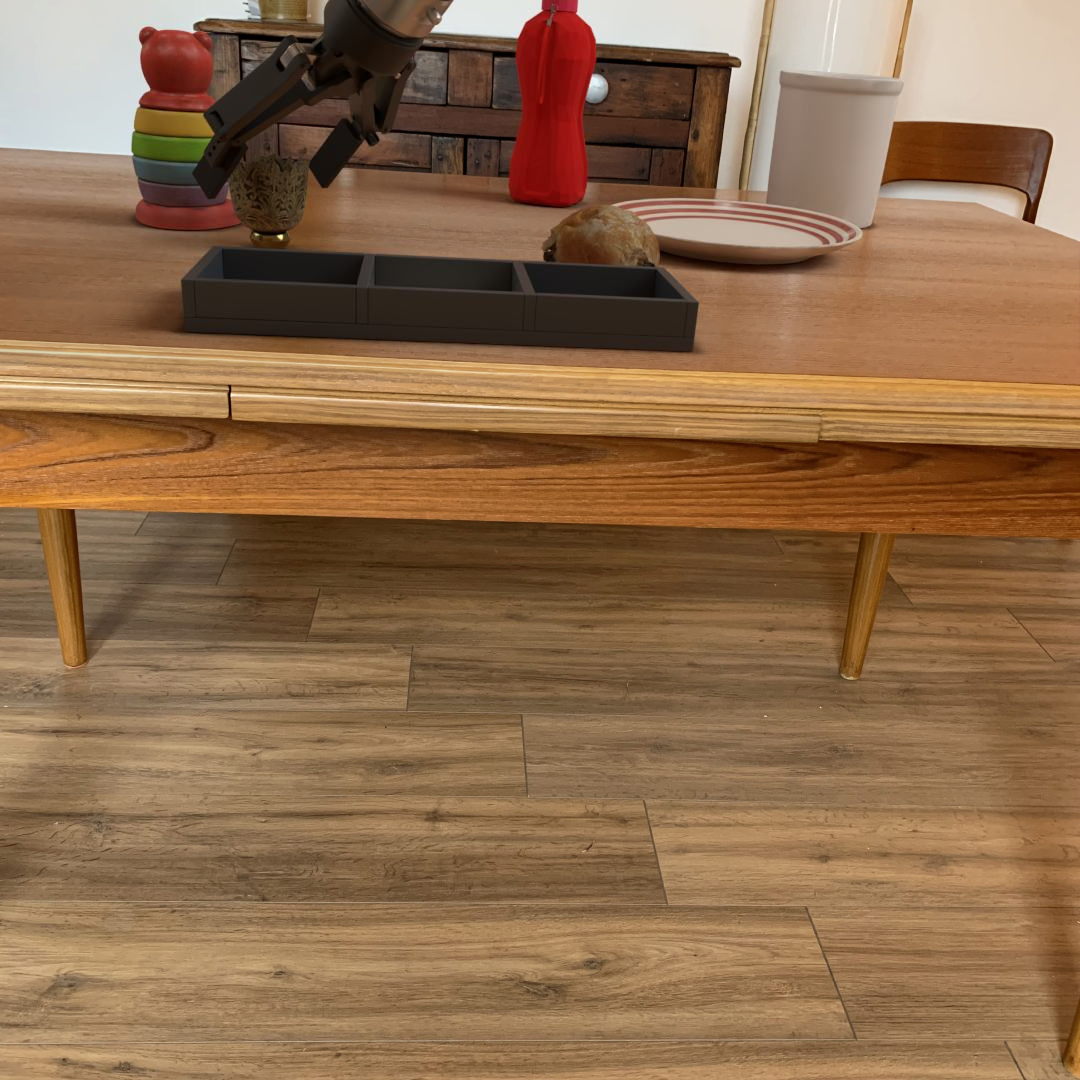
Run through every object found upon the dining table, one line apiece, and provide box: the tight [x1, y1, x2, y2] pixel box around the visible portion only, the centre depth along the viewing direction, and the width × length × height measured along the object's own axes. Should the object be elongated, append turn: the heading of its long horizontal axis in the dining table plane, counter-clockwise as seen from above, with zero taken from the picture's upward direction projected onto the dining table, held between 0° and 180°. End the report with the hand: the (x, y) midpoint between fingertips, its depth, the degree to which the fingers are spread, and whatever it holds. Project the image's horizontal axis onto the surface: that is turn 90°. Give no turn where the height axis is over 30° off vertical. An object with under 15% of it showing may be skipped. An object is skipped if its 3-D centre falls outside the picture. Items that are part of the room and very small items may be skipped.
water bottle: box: [508, 0, 597, 208], centre depth 134 cm, size 9×11×25 cm
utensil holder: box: [765, 69, 905, 229], centre depth 138 cm, size 15×15×18 cm
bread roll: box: [541, 204, 661, 267], centre depth 98 cm, size 10×10×8 cm
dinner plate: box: [611, 197, 864, 266], centre depth 117 cm, size 28×27×3 cm
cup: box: [228, 152, 311, 249], centre depth 99 cm, size 8×7×8 cm
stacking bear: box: [130, 26, 242, 231], centre depth 106 cm, size 11×10×18 cm
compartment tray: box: [180, 245, 700, 353], centre depth 79 cm, size 35×12×4 cm, turn 95°
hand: (263, 181), depth 99 cm, fingers open, 13 cm apart
